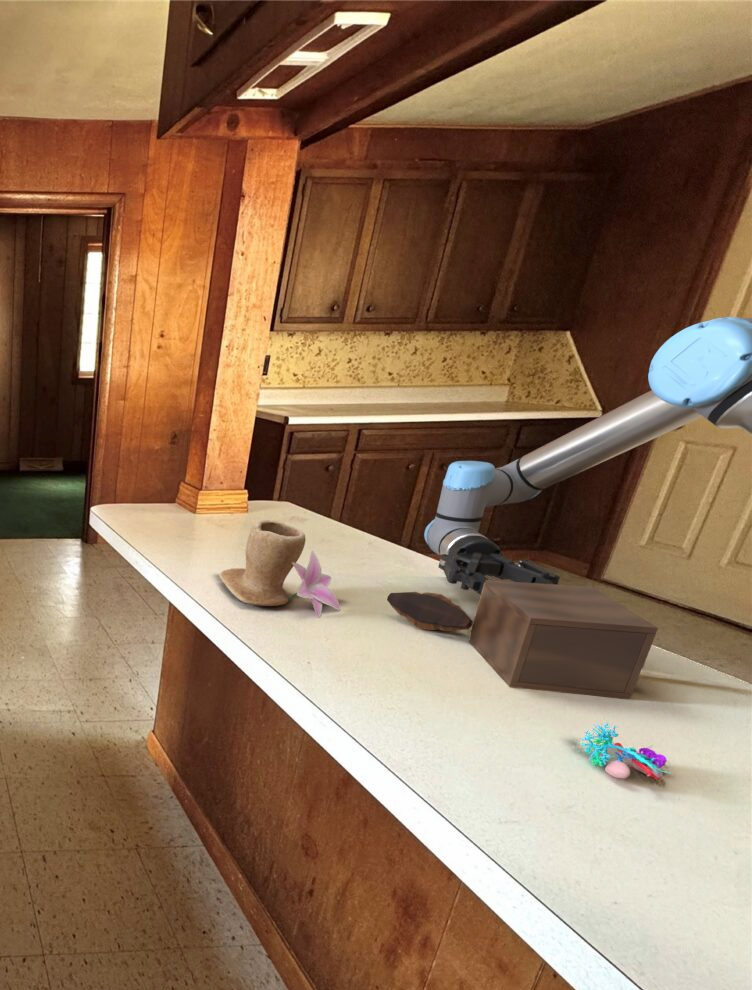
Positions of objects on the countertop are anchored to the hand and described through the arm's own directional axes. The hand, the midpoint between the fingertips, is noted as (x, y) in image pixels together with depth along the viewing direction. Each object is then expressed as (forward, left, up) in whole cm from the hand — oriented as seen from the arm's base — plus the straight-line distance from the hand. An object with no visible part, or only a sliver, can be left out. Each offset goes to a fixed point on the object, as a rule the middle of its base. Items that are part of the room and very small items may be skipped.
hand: (522, 595), depth 107 cm
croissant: (+13, +2, -3) cm, 13 cm away
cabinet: (-2, +11, -8) cm, 14 cm away
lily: (+30, 0, -8) cm, 31 cm away
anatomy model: (-4, +39, -8) cm, 40 cm away
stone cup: (+39, -3, -8) cm, 40 cm away
